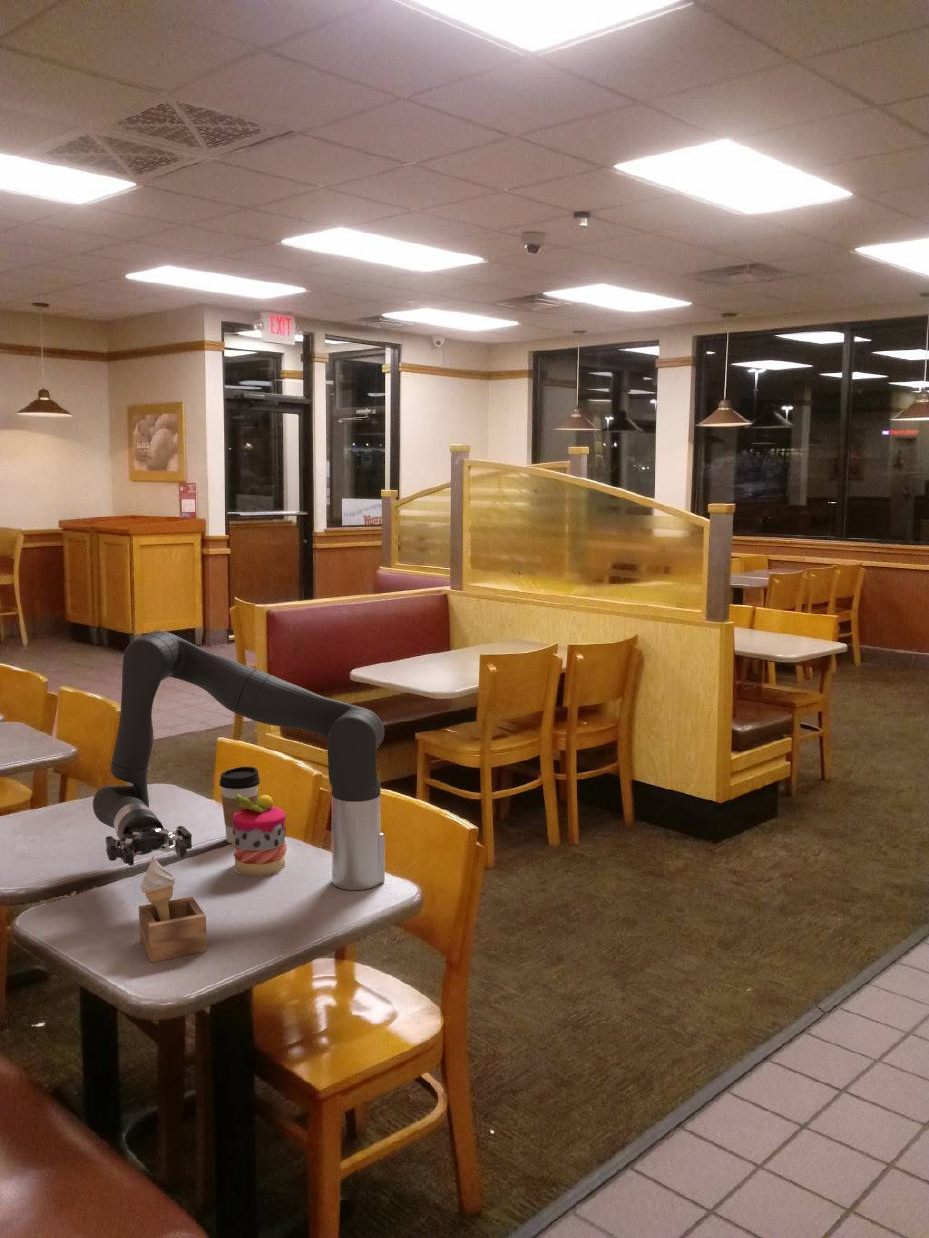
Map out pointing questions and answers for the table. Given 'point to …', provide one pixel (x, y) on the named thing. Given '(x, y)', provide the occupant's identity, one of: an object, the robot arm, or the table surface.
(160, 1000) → the table surface
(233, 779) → the coffee cup
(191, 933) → the cone holder
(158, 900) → the ice cream cone
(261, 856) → the cake
